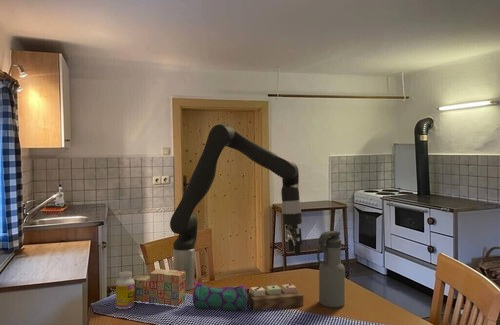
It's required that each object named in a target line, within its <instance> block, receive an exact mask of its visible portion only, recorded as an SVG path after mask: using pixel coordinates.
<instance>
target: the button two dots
mask: <svg viewBox="0 0 500 325" xmlns="http://www.w3.org/2000/svg"><path fill="white" fill-rule="evenodd" d="M281 287H282V291H283V292H284V293H285V294H288V293H296V290H297V286H295V285H294V284H292V283H288V284H281Z"/></svg>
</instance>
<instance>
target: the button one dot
mask: <svg viewBox="0 0 500 325" xmlns="http://www.w3.org/2000/svg"><path fill="white" fill-rule="evenodd" d="M279 287H280V286H278V285H277V284H276V285H266V286H265V288H266V292H267V293H268V294H269V295H277V294H281V288H279Z"/></svg>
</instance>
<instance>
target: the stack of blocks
mask: <svg viewBox="0 0 500 325" xmlns="http://www.w3.org/2000/svg"><path fill="white" fill-rule="evenodd" d="M185 274H186V272H184V271H178V270H172V269H162V268H160V269H159V268H156V269H155V270H153V271H151V272H150V273H149V275H143V274H136V275H134V276H133V275H132V277H131V278H132V279H134V282H135V284H134V301H141V302H149V303H159V304H168V305H174V306H179V305H180V304H182V303H183V302H184V301H185V302H186V291H185ZM183 304H184V303H183ZM183 304H182V305H183Z"/></svg>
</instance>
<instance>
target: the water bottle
mask: <svg viewBox="0 0 500 325" xmlns="http://www.w3.org/2000/svg"><path fill="white" fill-rule="evenodd" d="M340 235H341V231H338V230H329V231H324V232H322V233H321V235H320V236H319V238H318V245H319V246H320V247H319V249H317V251H316V252H317V255H316V260H317V262H319V263H320V264H319V268H318V269H319V270H318V273H319V274H318V277H319V278H318V280H319V281H318V302H319V303H320V305H322V306H323V307H326V308H332V309H333V308H341V307H343V306H344V305H345V302H346V301H345V298H346V296H345V292H346V290H345V289H346V288H345V287H346V286H345V285H346V283H345V282H346V280H345V279H346V278H345V276H346V274H345V272H346V268H345V265H344V264H343V263H341V260H342V259H341V256H342V253H341V249H342V240H341V239H340ZM320 252H322V253H323V261H322V260H321V259H320Z"/></svg>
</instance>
